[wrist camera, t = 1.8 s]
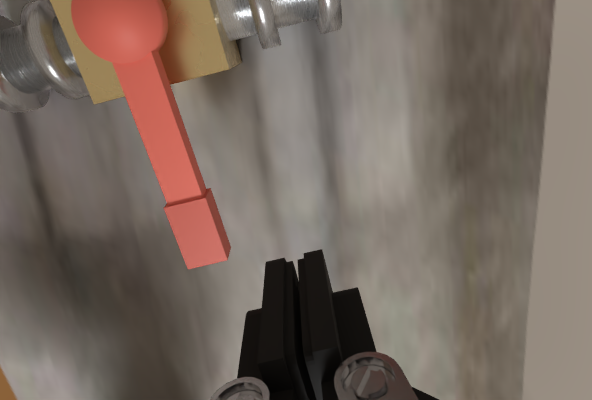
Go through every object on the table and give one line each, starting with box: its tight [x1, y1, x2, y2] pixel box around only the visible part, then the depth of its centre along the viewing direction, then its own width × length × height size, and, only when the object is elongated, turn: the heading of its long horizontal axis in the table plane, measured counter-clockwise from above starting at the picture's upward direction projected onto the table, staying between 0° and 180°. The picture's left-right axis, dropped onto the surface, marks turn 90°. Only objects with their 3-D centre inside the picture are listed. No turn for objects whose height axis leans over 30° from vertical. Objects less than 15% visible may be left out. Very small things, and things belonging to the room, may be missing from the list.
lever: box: [71, 0, 231, 269], centre depth 22 cm, size 16×4×2 cm, turn 14°
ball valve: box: [0, 0, 342, 113], centre depth 24 cm, size 7×22×9 cm, turn 104°
